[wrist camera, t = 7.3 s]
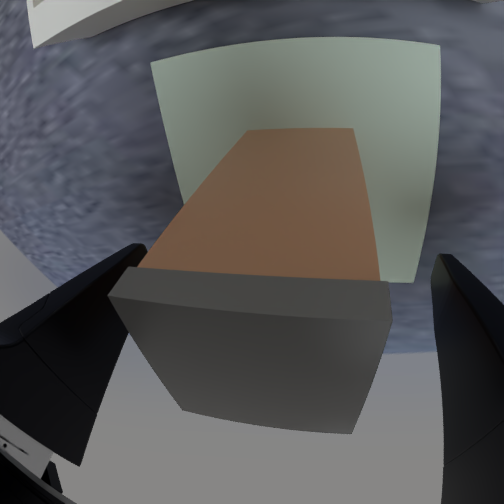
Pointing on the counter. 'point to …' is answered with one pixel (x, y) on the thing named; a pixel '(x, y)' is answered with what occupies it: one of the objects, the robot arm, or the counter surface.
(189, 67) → the mat
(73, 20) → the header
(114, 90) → the counter surface
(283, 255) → the tan rectangular block
